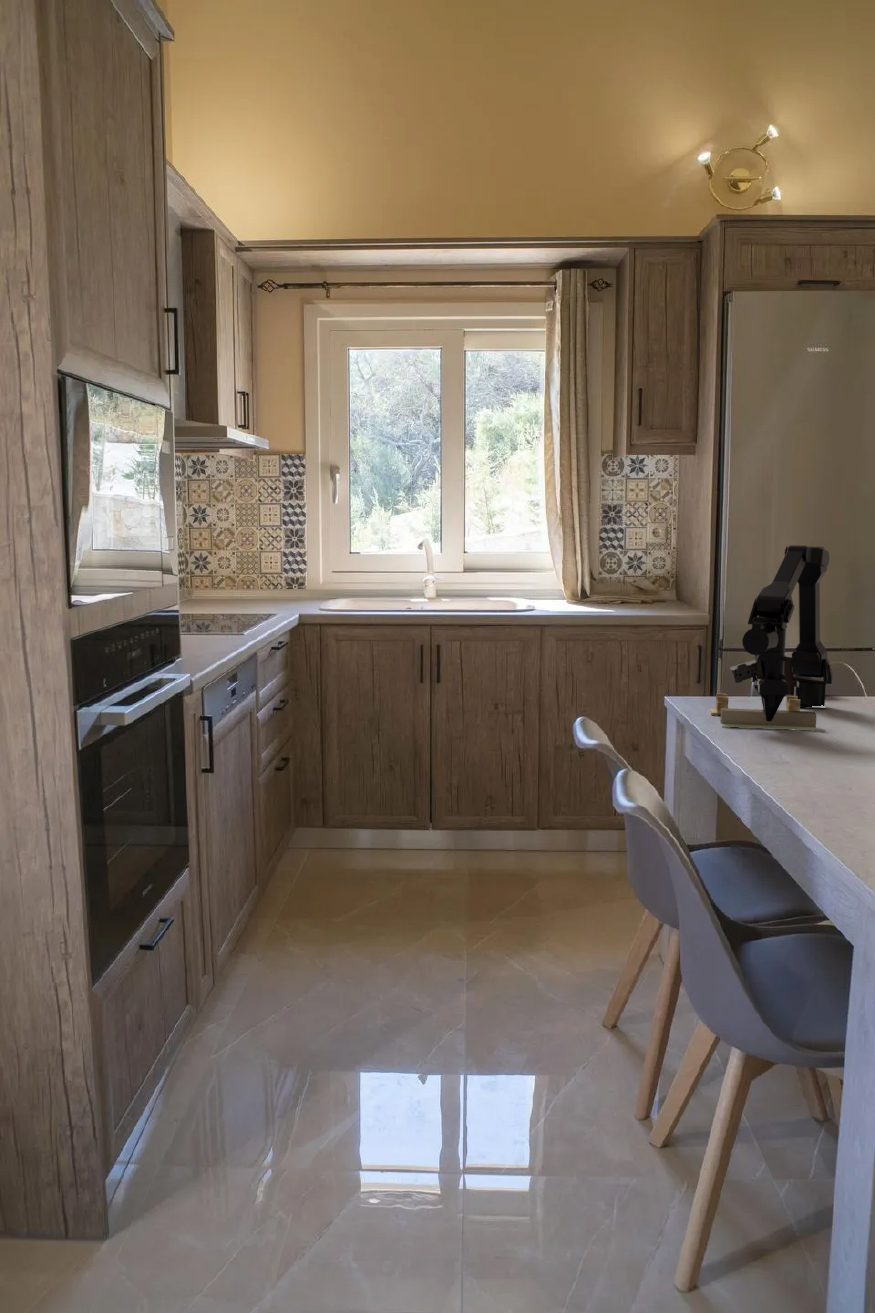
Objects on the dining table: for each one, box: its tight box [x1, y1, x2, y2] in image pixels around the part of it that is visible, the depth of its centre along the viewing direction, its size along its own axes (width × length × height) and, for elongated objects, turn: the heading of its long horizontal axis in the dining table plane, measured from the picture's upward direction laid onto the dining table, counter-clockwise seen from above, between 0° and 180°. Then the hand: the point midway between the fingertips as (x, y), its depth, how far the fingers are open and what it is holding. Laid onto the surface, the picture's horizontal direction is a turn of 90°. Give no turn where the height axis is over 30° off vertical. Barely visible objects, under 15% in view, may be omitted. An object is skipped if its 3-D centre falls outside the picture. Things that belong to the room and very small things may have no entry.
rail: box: [719, 707, 817, 728], centre depth 223 cm, size 20×3×3 cm, turn 78°
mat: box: [719, 720, 819, 731], centre depth 223 cm, size 20×7×1 cm, turn 78°
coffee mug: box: [784, 652, 805, 696], centre depth 268 cm, size 12×9×10 cm
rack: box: [709, 692, 801, 716], centre depth 236 cm, size 21×6×4 cm, turn 78°
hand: (768, 719), depth 223 cm, fingers closed on rail, 3 cm apart
